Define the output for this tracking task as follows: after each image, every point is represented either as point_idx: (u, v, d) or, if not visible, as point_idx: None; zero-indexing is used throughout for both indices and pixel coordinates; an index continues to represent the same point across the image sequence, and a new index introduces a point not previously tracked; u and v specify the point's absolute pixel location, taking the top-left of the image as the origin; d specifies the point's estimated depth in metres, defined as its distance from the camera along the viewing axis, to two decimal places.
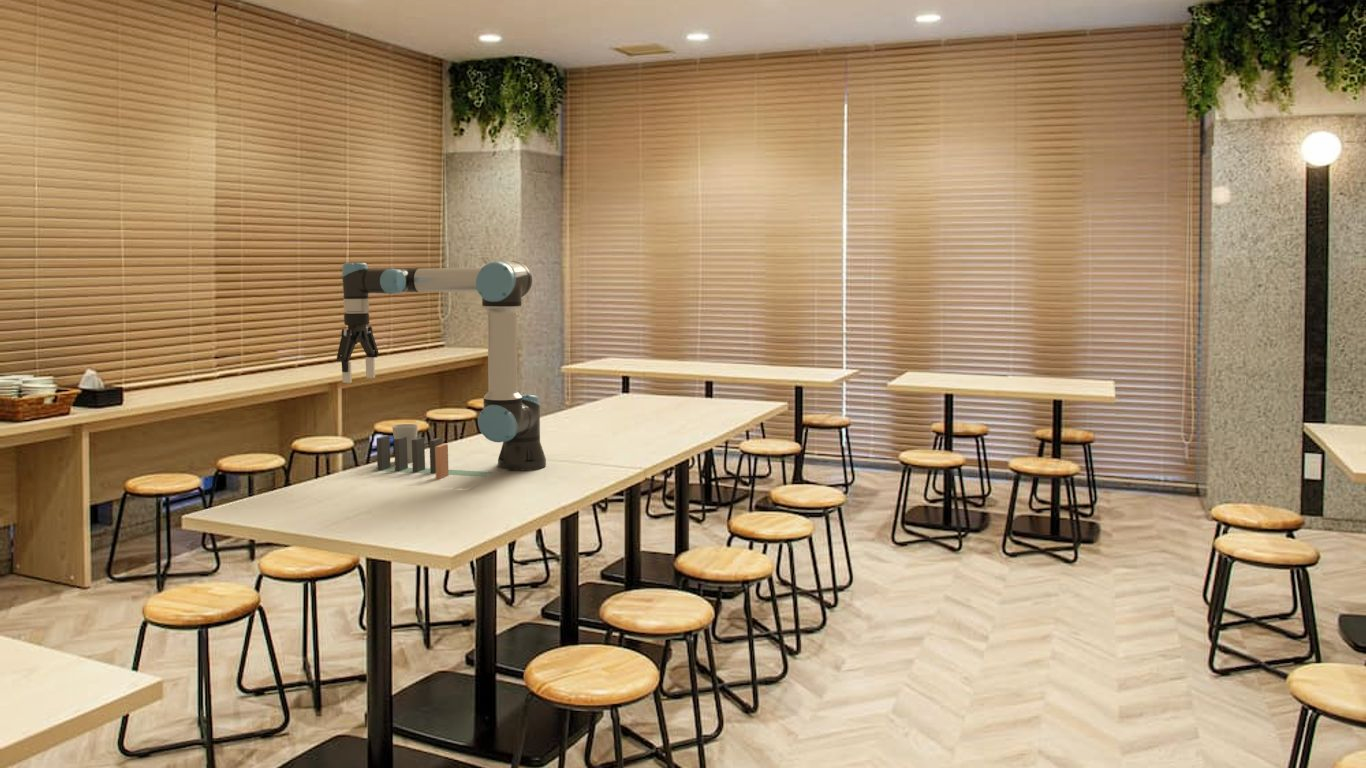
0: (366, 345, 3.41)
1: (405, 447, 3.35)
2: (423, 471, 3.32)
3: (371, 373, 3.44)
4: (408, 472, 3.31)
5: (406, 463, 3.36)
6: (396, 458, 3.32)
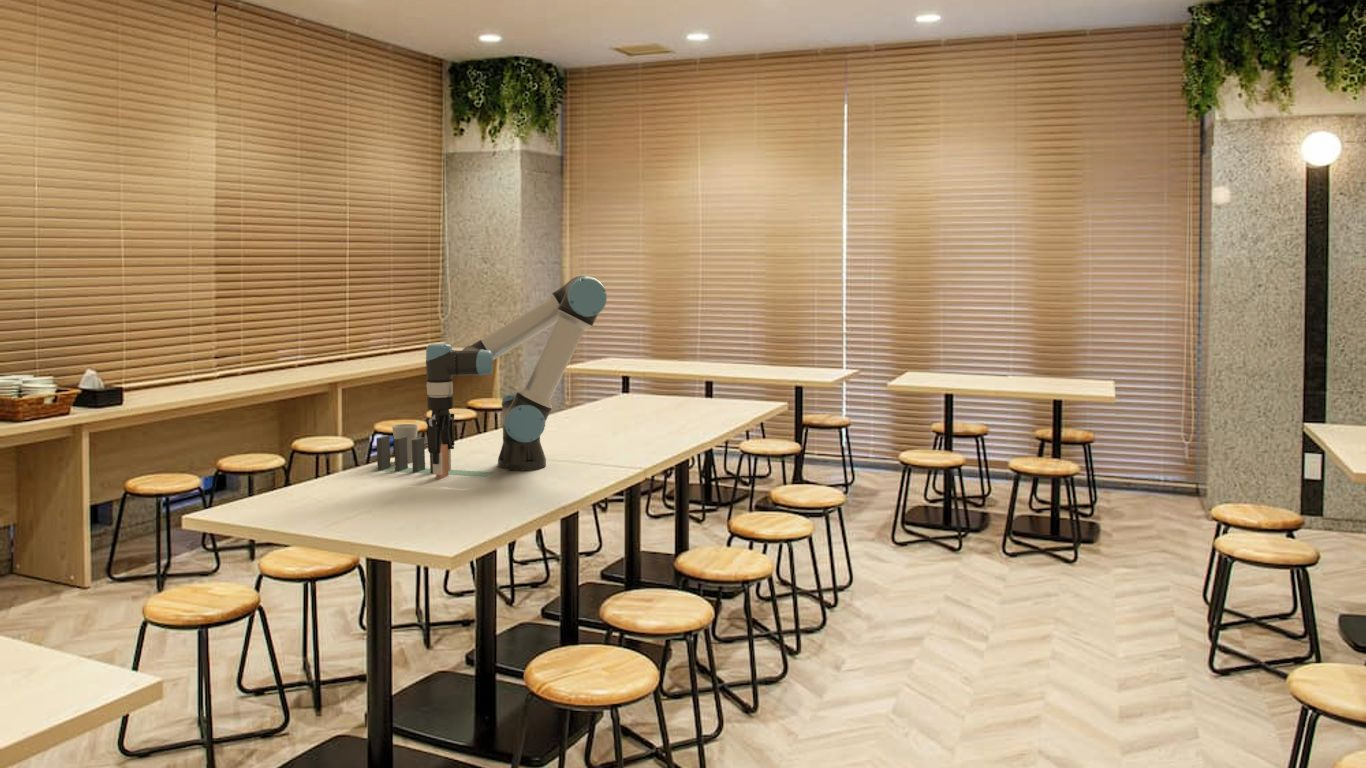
0: (445, 432, 3.24)
1: (405, 447, 3.35)
2: (423, 471, 3.32)
3: None
4: (408, 472, 3.31)
5: (406, 463, 3.36)
6: (396, 458, 3.32)
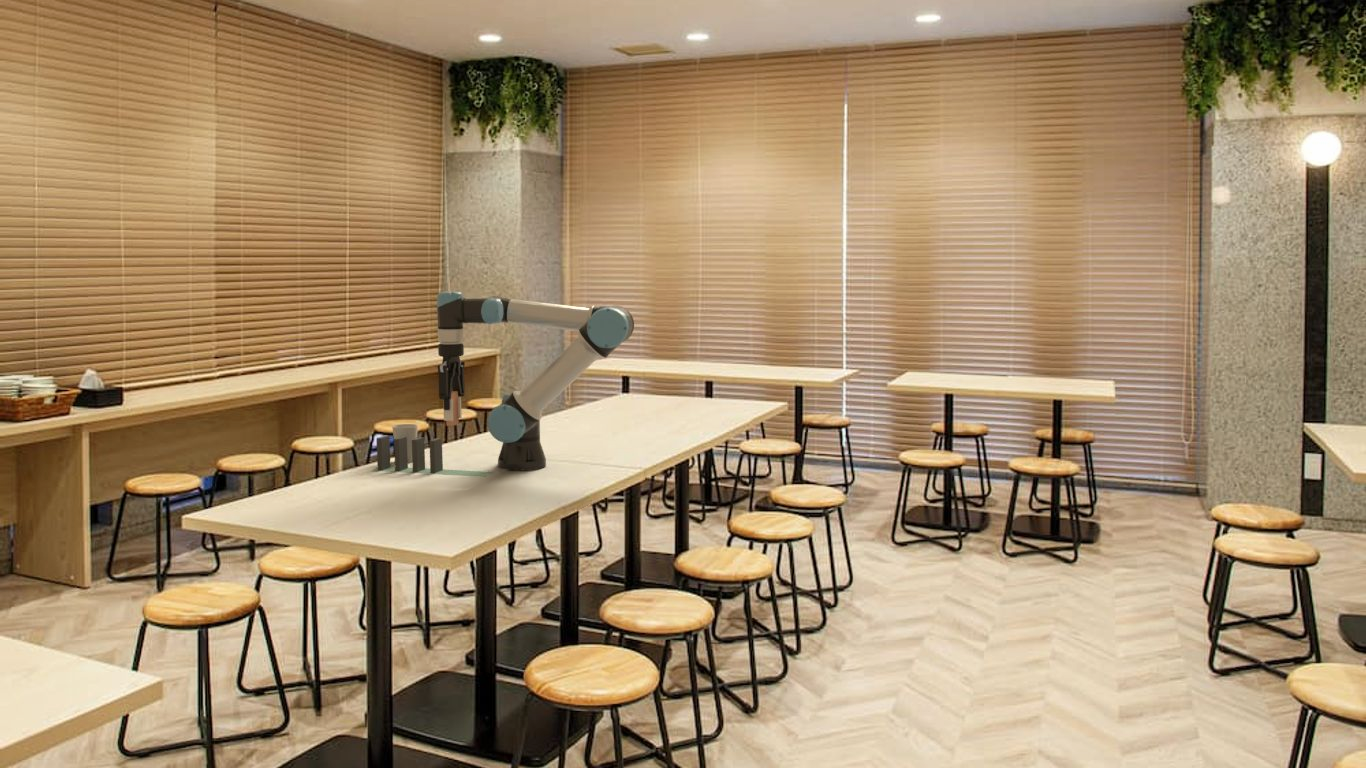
0: (456, 379, 3.29)
1: (405, 447, 3.35)
2: (423, 471, 3.32)
3: None
4: (408, 472, 3.31)
5: (406, 463, 3.36)
6: (396, 458, 3.32)
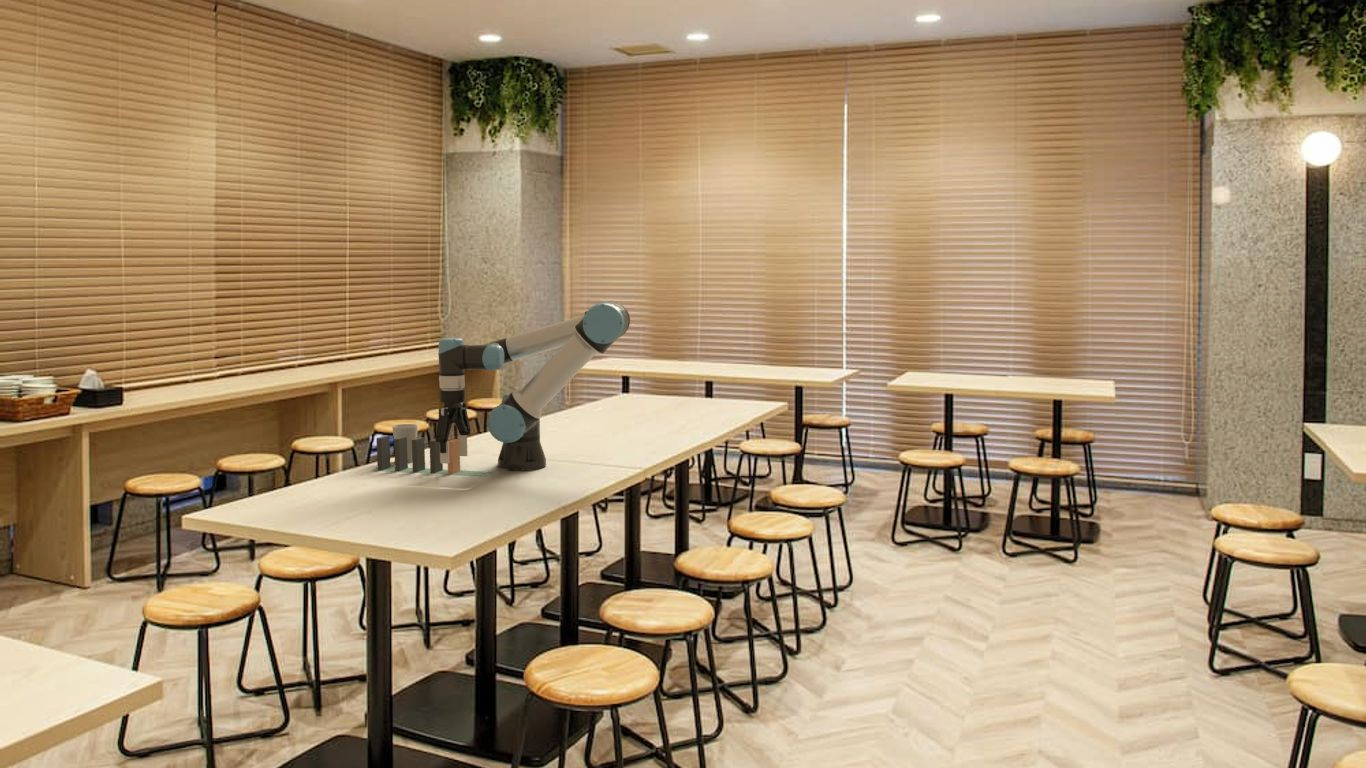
0: (460, 422, 3.32)
1: (405, 447, 3.35)
2: (423, 471, 3.32)
3: (463, 451, 3.35)
4: (408, 472, 3.31)
5: (406, 463, 3.36)
6: (396, 458, 3.32)
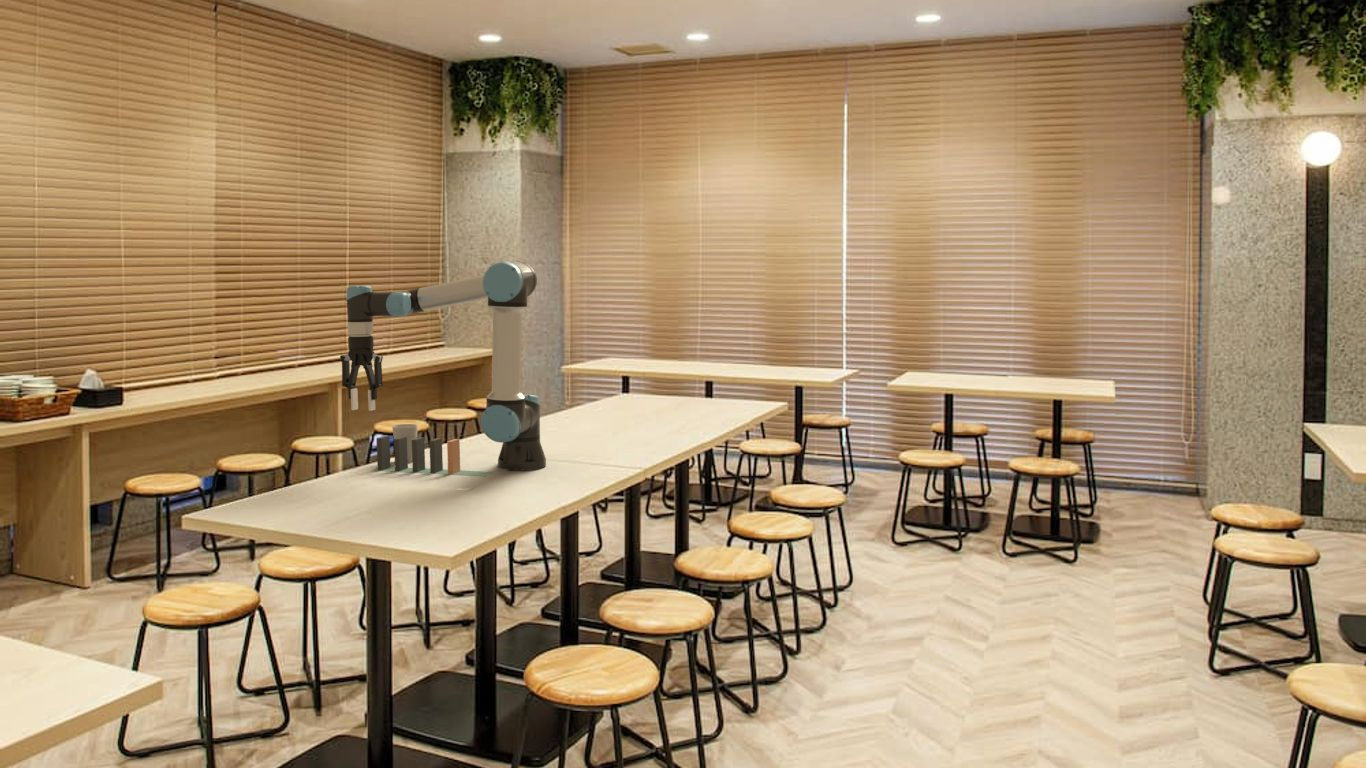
0: None
1: (405, 447, 3.35)
2: (423, 471, 3.32)
3: None
4: (408, 472, 3.31)
5: (406, 463, 3.36)
6: (396, 458, 3.32)
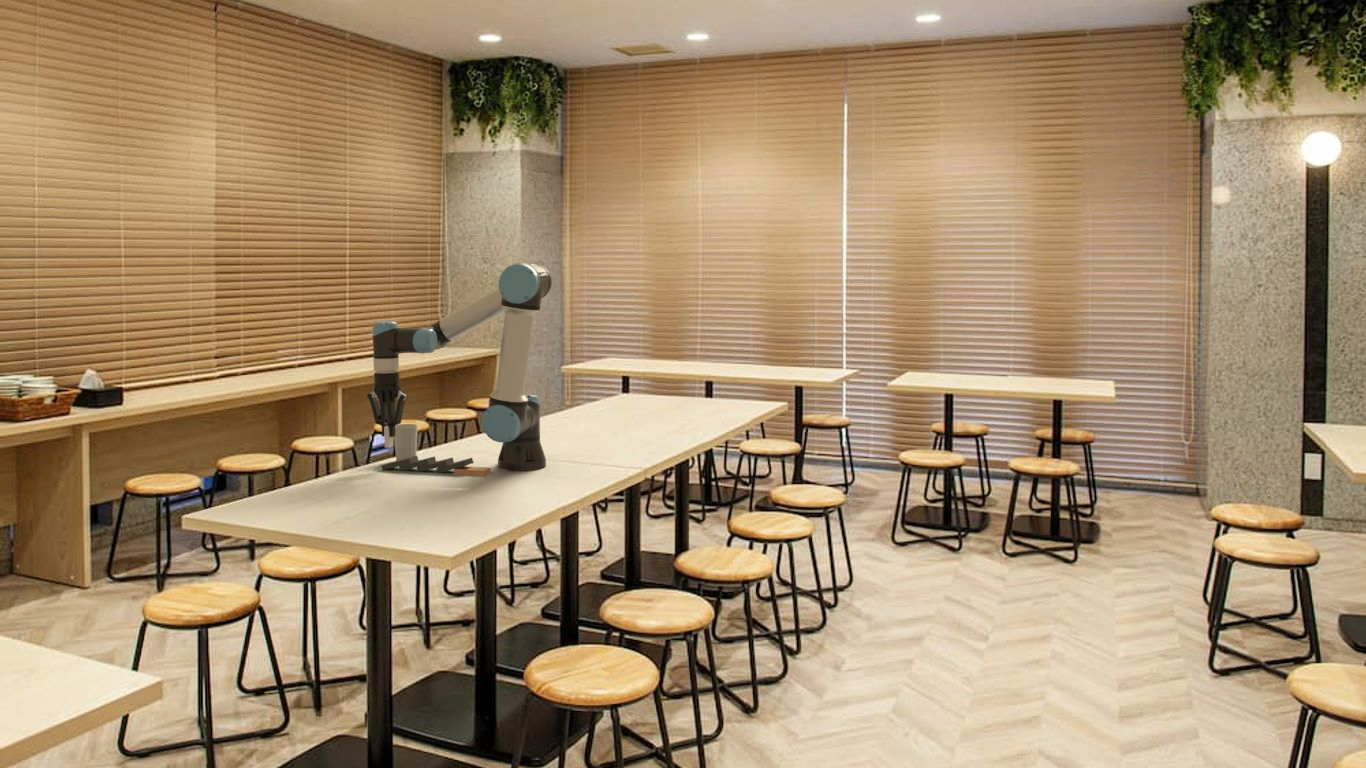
0: None
1: None
2: (423, 471, 3.32)
3: None
4: (408, 472, 3.31)
5: None
6: (410, 465, 3.31)
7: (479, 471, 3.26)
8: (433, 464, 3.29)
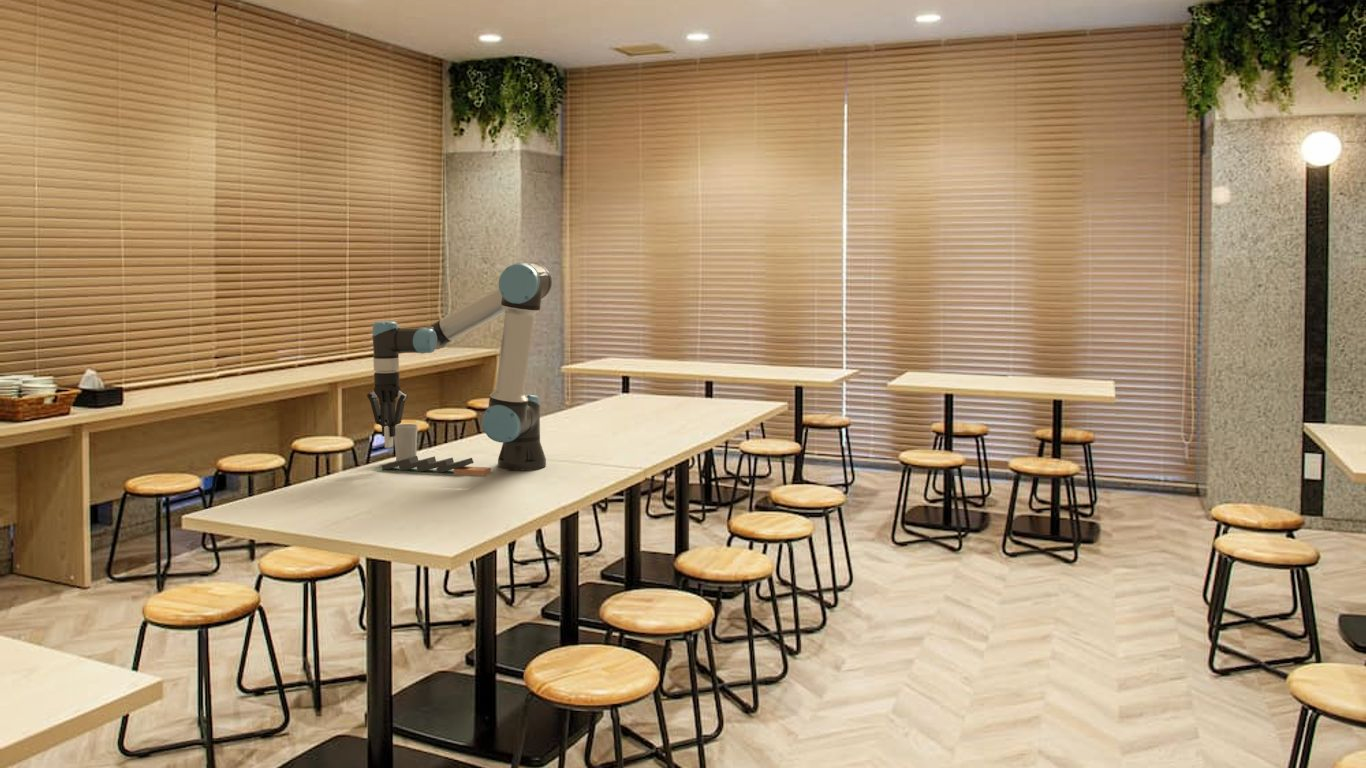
0: None
1: None
2: (423, 471, 3.32)
3: None
4: (408, 472, 3.31)
5: None
6: (410, 465, 3.31)
7: (479, 471, 3.26)
8: (433, 464, 3.29)
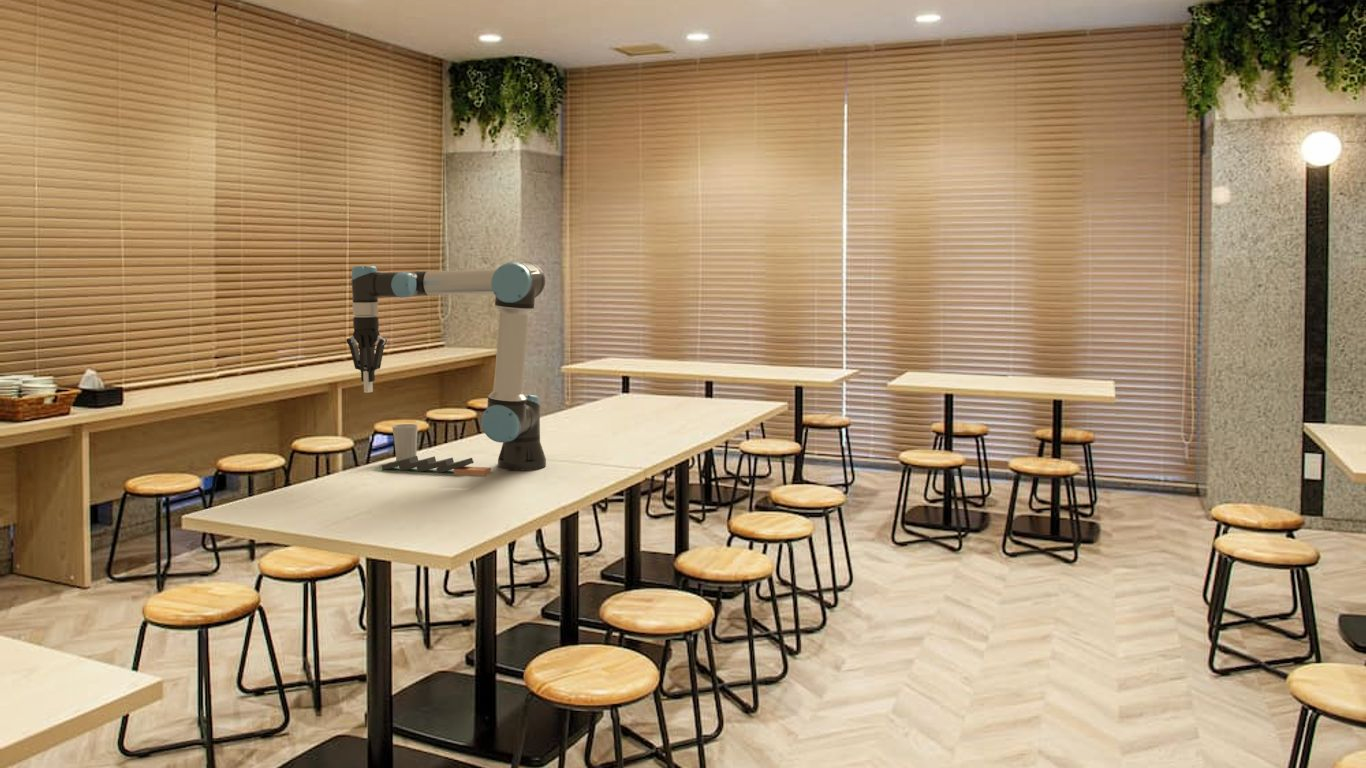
0: None
1: None
2: (423, 471, 3.32)
3: None
4: (408, 472, 3.31)
5: None
6: (410, 465, 3.31)
7: (479, 471, 3.26)
8: (433, 464, 3.29)
